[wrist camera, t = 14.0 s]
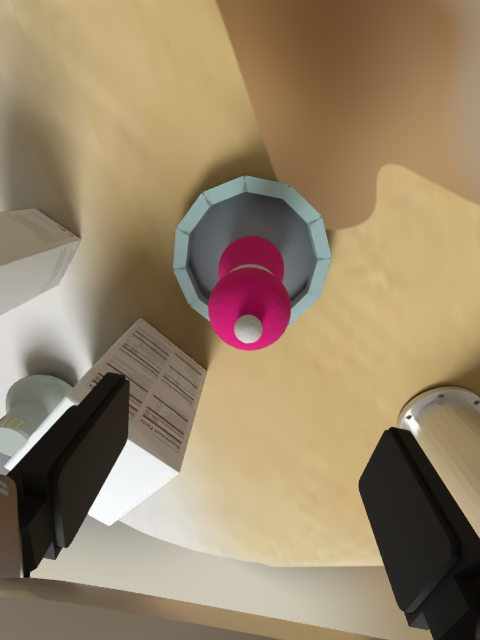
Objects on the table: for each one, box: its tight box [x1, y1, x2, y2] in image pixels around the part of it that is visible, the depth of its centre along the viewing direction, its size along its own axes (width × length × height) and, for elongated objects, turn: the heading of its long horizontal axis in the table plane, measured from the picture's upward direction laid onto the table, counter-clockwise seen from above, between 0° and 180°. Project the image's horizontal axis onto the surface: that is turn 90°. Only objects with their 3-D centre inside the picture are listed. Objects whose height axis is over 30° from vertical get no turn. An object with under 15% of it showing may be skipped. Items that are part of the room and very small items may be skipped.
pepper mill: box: [208, 236, 291, 350], centre depth 26 cm, size 7×7×20 cm
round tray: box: [173, 176, 332, 325], centre depth 35 cm, size 18×18×3 cm
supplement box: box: [4, 318, 207, 526], centre depth 36 cm, size 13×13×18 cm
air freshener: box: [0, 375, 72, 457], centre depth 42 cm, size 11×8×10 cm
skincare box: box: [0, 208, 80, 315], centre depth 30 cm, size 8×7×16 cm
